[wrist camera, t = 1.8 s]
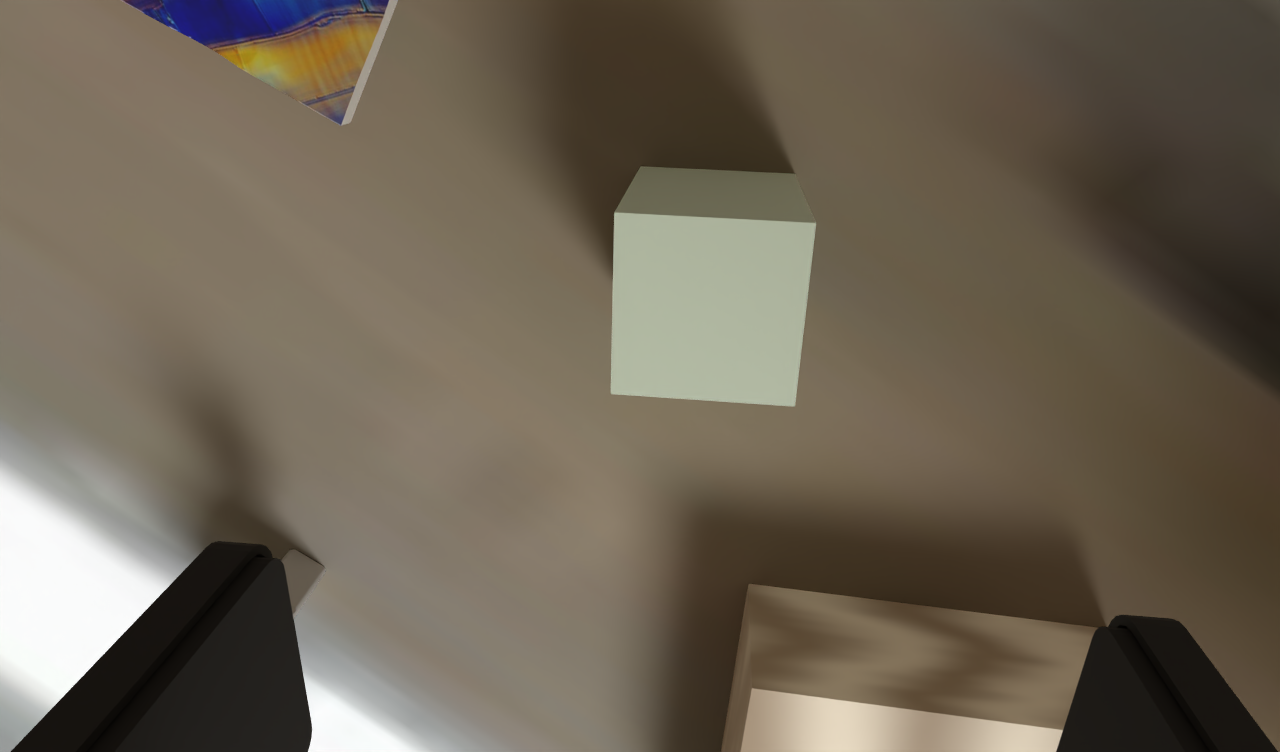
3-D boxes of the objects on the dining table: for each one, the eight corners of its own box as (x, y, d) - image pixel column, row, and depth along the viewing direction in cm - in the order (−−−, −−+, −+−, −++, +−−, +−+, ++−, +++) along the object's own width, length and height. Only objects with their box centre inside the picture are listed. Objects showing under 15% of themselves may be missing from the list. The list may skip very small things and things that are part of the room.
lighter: (287, 629, 37) (177, 782, 29) (252, 609, 36) (132, 758, 29) (358, 521, 34) (257, 660, 27) (321, 498, 34) (209, 633, 26)
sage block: (795, 173, 27) (816, 223, 21) (779, 320, 29) (794, 406, 23) (640, 166, 27) (614, 212, 21) (636, 311, 29) (610, 394, 23)
